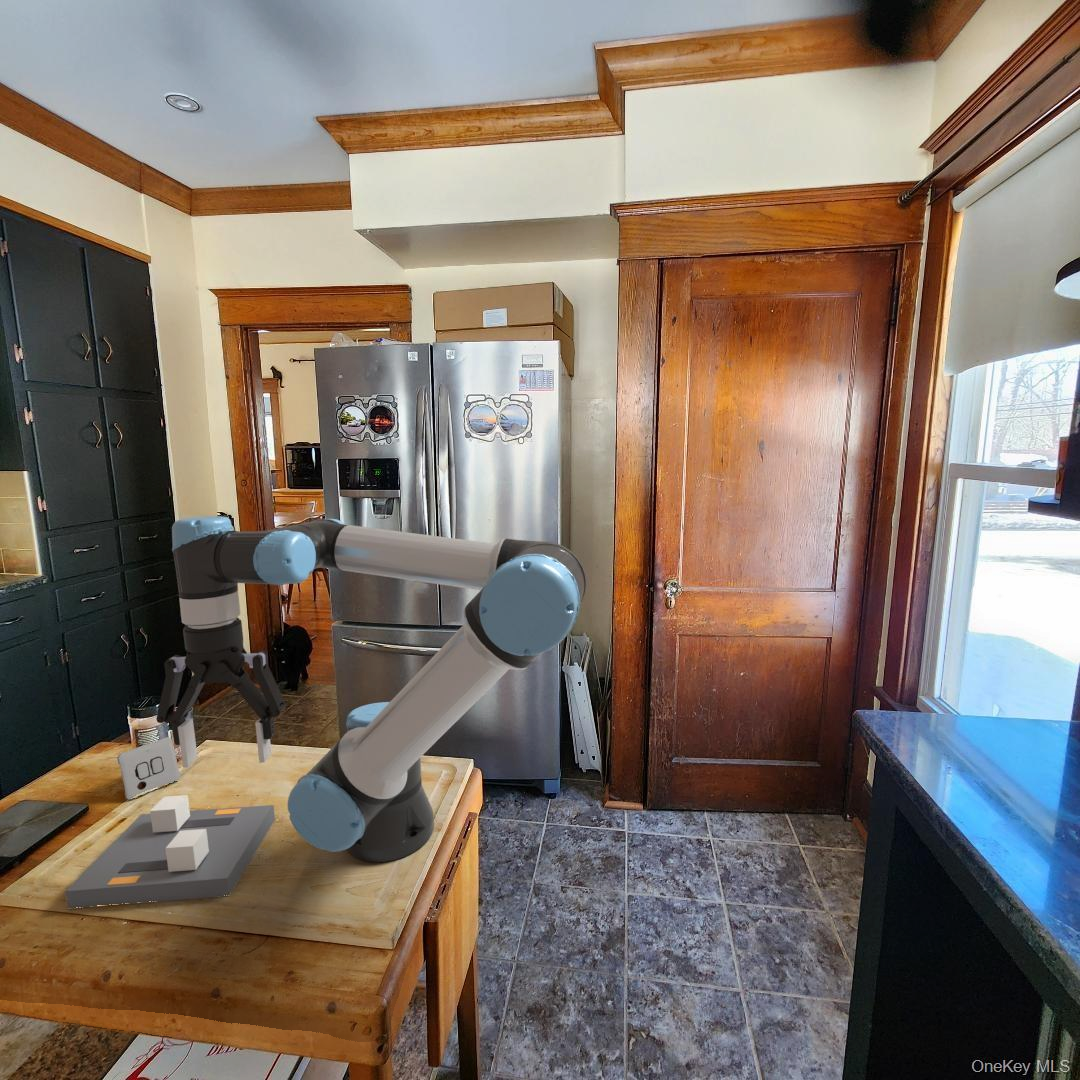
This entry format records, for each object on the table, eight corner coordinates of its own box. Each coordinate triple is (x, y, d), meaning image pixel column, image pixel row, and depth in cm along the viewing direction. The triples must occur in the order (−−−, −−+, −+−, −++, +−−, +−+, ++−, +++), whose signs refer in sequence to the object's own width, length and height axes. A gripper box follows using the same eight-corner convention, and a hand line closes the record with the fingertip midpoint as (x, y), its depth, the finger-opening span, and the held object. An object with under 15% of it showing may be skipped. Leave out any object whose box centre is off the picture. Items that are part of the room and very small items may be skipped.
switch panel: (274, 819, 102) (273, 804, 101) (229, 895, 84) (227, 877, 84) (143, 829, 100) (141, 813, 100) (68, 909, 82) (65, 890, 82)
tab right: (190, 815, 98) (187, 795, 98) (177, 830, 94) (174, 809, 94) (166, 817, 98) (163, 796, 97) (152, 832, 94) (150, 810, 93)
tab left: (208, 851, 89) (206, 828, 89) (195, 869, 85) (192, 846, 85) (182, 853, 89) (180, 830, 88) (168, 871, 85) (165, 848, 84)
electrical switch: (127, 803, 108) (120, 757, 107) (119, 796, 111) (112, 751, 111) (181, 781, 115) (174, 738, 115) (172, 774, 119) (166, 733, 118)
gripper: (300, 610, 87) (312, 743, 90) (146, 617, 85) (164, 752, 88) (283, 625, 79) (296, 768, 82) (113, 632, 77) (133, 779, 81)
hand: (228, 760), depth 85 cm, fingers open, 10 cm apart
